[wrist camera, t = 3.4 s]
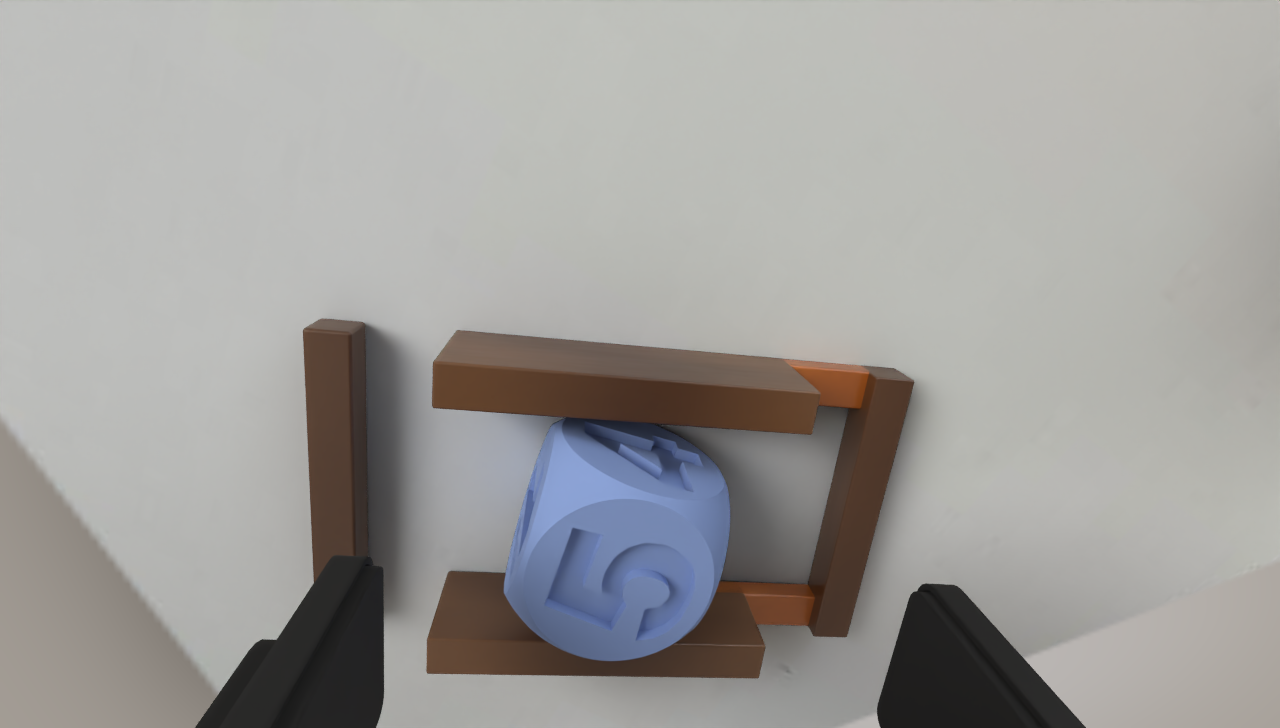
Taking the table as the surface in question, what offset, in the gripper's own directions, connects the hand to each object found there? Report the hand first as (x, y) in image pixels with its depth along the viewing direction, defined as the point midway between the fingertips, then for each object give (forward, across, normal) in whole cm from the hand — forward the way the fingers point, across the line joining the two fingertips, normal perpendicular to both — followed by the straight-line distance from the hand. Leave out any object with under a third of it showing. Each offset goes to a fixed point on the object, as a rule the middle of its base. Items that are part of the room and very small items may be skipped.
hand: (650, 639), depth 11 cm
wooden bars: (+6, 0, 0) cm, 6 cm away
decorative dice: (+6, 0, 0) cm, 6 cm away
